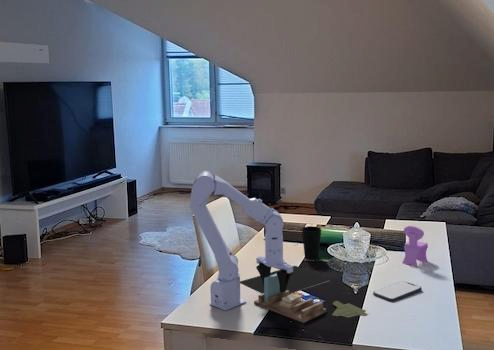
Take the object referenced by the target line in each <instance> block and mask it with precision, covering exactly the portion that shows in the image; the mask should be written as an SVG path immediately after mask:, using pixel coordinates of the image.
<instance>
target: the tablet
mask: <svg viewBox="0 0 494 350" xmlns="http://www.w3.org/2000/svg"><path fill="white" fill-rule="evenodd" d="M292 266H293V273H292V275H291V277H290V279H289V281H288V284H287V288H286V291H287V290H288V291H290V294H292V293H293V294H295V293H297V292H300V291H302V290H306V289H309V288H312V287H315V286H319V285H321V284H325V283H328V282H330V281H331V280H330V278H328V277H325V276H322V275H321V274H317V273H315V272H313V271H310V270H307V269H305V268H302V267H300V266H297V265H292ZM280 271H281V270H280V269H277V270H275V271H270V276H271V275H274V274H276V273H277V272H280ZM240 285H243V286H245V287H246V288H247V287H248V288H249V289H251V290H253V291H256V292H258V293H260V294H263V293H264V286H263V282H262V279H261V276H260V275H258V276H254V277H251V278H247V279H244V280H240Z"/></svg>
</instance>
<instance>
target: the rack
mask: <svg viewBox="0 0 494 350" xmlns="http://www.w3.org/2000/svg"><path fill="white" fill-rule="evenodd" d="M288 295H290V291H288V290H287V291H285V292H282V293H279V294H277V295H274V296H272V297H269V298H267V302H265V296H264V293H263V294H262V293H260V294H258V299H256V300H254V302H253V303H254V305H256V306H259V307H261V308H265V309H267V310H268V311H269V310H270V311H272V312H275V313H277V314H280V315H282V316H285V317H287V318H291V319H293V320H295V321H298V322H301V323H302V324H305V323H306V322H308V321H311V320H313V319H315V318H317V317H320V315H323V314H326V313H327V312H328V311H327V308H325V307H324V302H322V301H318V302H316V303H315V304H314V299H313V298H311V297H310V298H308V299H304V300H303V302H301V303H299V304H296V305H294V306H292V307H291V309H288V308H285V307H283V306H280V302H281V301H282V298H283V297H285V296H288Z"/></svg>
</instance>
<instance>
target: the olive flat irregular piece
mask: <svg viewBox="0 0 494 350" xmlns="http://www.w3.org/2000/svg"><path fill="white" fill-rule="evenodd" d="M332 305H333V306H335V307H336V309H335V310H334V311H333V313H332V314H331V316H333V317H334V316H335V317H345V318H347V319H348V318H352V317H356V316H360V317H367V316H368V315H369V313H366V312H365V311H367V310H366V309H363V308H360V307H358V306H356V305H354V304H351V303H346V304H345V303H343V302H341V301H339V300H335V301H333V303H332Z"/></svg>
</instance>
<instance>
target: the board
mask: <svg viewBox="0 0 494 350" xmlns="http://www.w3.org/2000/svg"><path fill="white" fill-rule="evenodd" d="M279 293H281V292H280V288H279V279H278V276H277V273H276V274H274V275H271V276H268V277H266V278H264V296H265V302H267V298H269V297H272V296H274V295H277V294H279Z"/></svg>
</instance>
